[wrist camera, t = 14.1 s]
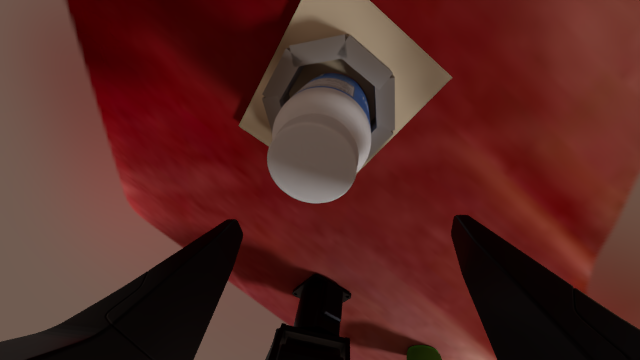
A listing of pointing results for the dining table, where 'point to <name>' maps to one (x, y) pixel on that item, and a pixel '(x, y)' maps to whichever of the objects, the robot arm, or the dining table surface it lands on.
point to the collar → (347, 67)
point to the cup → (423, 353)
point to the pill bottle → (321, 139)
